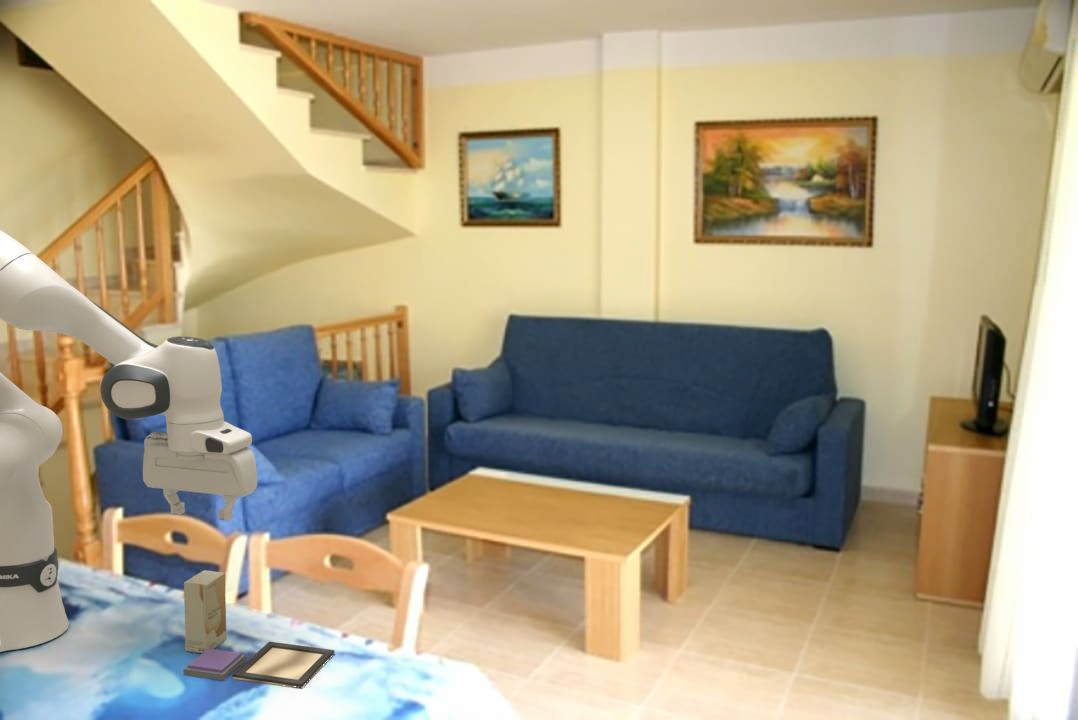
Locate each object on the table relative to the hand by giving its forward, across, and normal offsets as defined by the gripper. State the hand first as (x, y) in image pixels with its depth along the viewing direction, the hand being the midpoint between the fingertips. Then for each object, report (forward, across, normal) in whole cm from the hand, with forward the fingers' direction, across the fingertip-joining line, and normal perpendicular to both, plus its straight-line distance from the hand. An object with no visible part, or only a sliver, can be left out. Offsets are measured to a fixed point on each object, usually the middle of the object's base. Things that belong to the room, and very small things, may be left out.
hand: (201, 516), depth 156 cm
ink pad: (+23, +5, -6) cm, 24 cm away
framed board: (+24, +15, -1) cm, 28 cm away
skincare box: (+23, -1, 0) cm, 23 cm away
